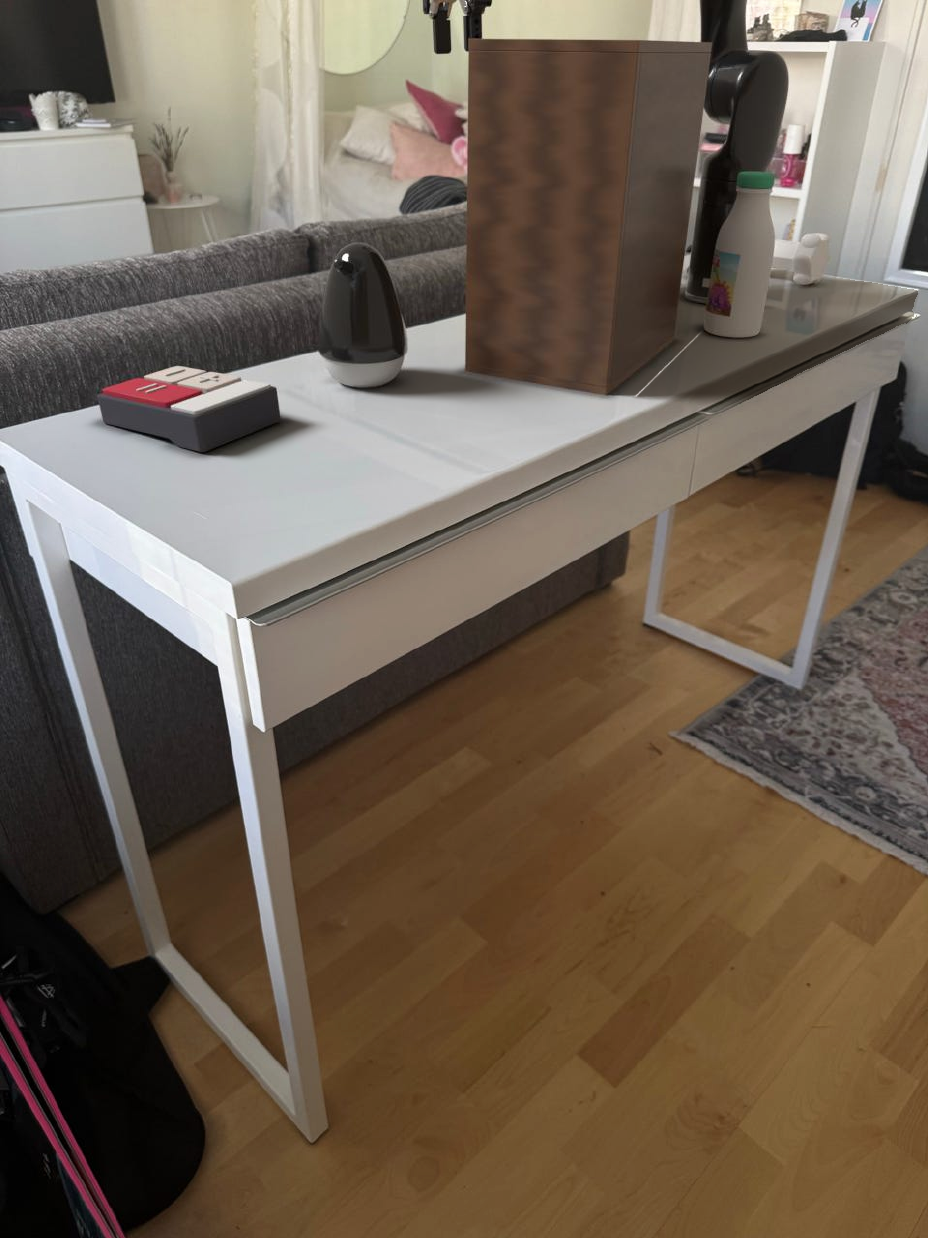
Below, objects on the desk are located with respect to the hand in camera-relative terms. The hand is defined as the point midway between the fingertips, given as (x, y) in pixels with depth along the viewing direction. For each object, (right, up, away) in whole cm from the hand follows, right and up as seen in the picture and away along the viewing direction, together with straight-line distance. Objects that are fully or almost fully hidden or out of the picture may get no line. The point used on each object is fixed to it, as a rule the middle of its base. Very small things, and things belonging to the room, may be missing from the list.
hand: (457, 52), depth 116 cm
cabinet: (+15, -38, +1) cm, 41 cm away
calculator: (-27, -52, -21) cm, 62 cm away
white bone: (+54, -14, +41) cm, 69 cm away
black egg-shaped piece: (-11, -44, -9) cm, 46 cm away
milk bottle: (+38, -32, +12) cm, 51 cm away
